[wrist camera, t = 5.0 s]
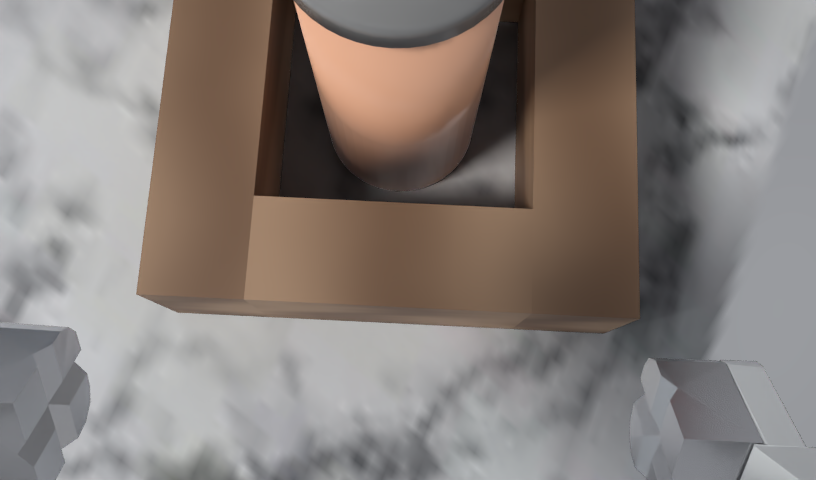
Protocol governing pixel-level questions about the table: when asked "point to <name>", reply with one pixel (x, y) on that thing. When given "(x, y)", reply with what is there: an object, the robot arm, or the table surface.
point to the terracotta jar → (400, 82)
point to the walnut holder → (390, 221)
